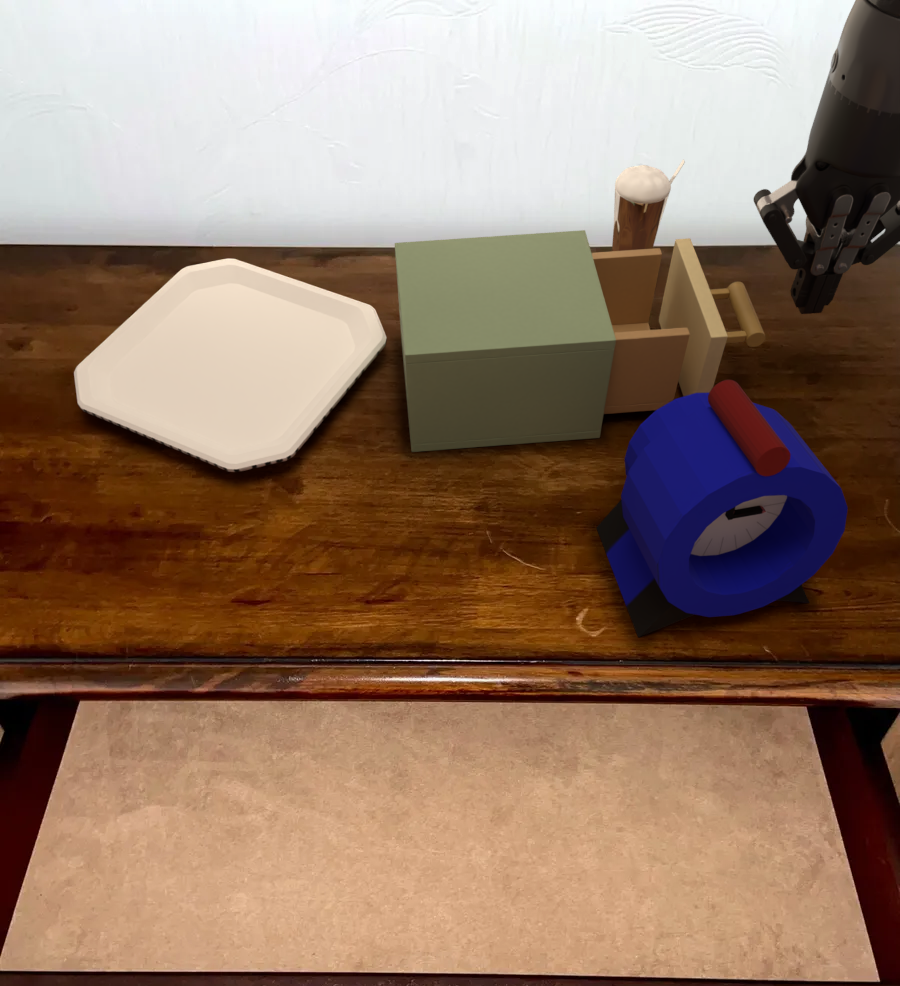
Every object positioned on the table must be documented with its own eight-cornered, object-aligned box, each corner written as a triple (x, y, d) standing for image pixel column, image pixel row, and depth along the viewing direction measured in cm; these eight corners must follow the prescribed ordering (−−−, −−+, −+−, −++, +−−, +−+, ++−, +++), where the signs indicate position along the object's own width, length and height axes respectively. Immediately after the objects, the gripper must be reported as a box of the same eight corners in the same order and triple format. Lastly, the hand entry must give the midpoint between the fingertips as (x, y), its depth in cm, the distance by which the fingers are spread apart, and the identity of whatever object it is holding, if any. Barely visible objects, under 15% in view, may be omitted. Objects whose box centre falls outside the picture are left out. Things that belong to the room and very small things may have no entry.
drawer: (721, 316, 80) (744, 234, 73) (758, 412, 73) (786, 331, 67) (512, 330, 79) (516, 249, 72) (531, 429, 72) (537, 349, 66)
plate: (55, 412, 75) (45, 391, 74) (208, 267, 86) (203, 245, 84) (271, 502, 70) (266, 482, 68) (407, 336, 80) (406, 314, 78)
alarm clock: (641, 645, 62) (684, 496, 50) (587, 505, 69) (614, 344, 57) (814, 612, 64) (898, 459, 51) (745, 478, 71) (805, 315, 58)
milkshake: (668, 282, 84) (690, 176, 75) (608, 285, 83) (624, 180, 75) (657, 250, 86) (678, 145, 78) (599, 254, 86) (613, 148, 78)
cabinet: (573, 330, 80) (585, 229, 72) (599, 438, 73) (616, 339, 65) (401, 342, 80) (394, 242, 72) (411, 452, 72) (404, 354, 65)
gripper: (806, 114, 56) (735, 345, 70) (1024, 102, 56) (909, 333, 71) (770, 51, 60) (710, 281, 74) (973, 40, 60) (874, 270, 75)
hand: (807, 306), depth 72 cm, fingers closed
